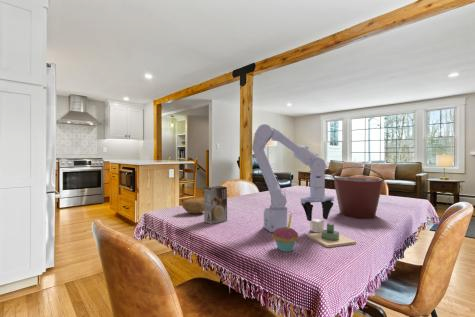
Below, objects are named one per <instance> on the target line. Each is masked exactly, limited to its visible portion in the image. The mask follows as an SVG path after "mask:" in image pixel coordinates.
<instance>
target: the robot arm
mask: <svg viewBox="0 0 475 317" xmlns="http://www.w3.org/2000/svg"><path fill="white" fill-rule="evenodd" d="M253 137H254V138H253V141H252V147H251V148H252V153H253V154H254V158H255V159H256V162H257V164H258V167H259V168H260V172H261V174H262V176H263V178H264V182H265V184H266V186H267V189H268V193H269V195H270V205H269V207H267V208H265V209H264V210H263V226H262V227H263V228H264V229H266V230H267V231H268V232H270V233H273V231H275V230H276V229H277V228H283V227H288V206H287V202H288V201H287V196H286V193H285V191H283V190H282V189H281V186H280V184H279V182H278V179H277V178H276V176H275V175H276V174H275V173H274V170H273V168H272V165H271V163H270V160H269V158H268V156H267V155H268V154H266V151H265V148H266V145H267V144H268V142H270V140H271V141H274V142H278V143H280V144H281V145H282V146H284V147H286V148H288V149H289V150H290V151H292V152H293V156H294V157H295V158H296V159H297V160H299V161H300V162H301V163H303V164H304V165H305V166H308V167H309V168H310V175H309V196H306V197H301V198H300V204H301V206H302V209H303V210H304V212H305V216H306V220H307V221H309V222H311V220H312V219H313V218H312V217H313V216H312V215H313V209H314V205H313V204H312V203H321V206H322V207H321V208H322V220H326V221H327V220H328V219H329V215H330V212H331V210H332V208H333V206H334V202H335V199H334V198H335V197H334V196H332V195H326V194H325V191H326V189H325V185H326V184H325V183H326V181H325V180H326V178H325V177H326V176H325V170H326V168H327V163H326V162H325V160H324V159H323V158H321V157H319V154H318V153H314V152H313V151H311V150H310V149H309V147H308V146H307V145H298V144H296V143H295V142H294V141H292V140H291V139H290V138H288V137H287V136H286V135H285V134H284V133H282V132H281V131H279V130H277V129H276V128H274V127H271V126H270V125H269V124H265V123H263V124H261V125H259V126H258V127H257V128H256V130H255V132H254V136H253Z"/></svg>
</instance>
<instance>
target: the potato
mask: <svg viewBox="0 0 475 317" xmlns="http://www.w3.org/2000/svg"><path fill="white" fill-rule="evenodd" d="M181 206H182V208H183V210H184V211H186V212H187V213H188V214H193V215H194V214H195V215H196V214H200V213H204V197H195V198H193V197H192V198H187V199H186V200H184V201H183V202H182V204H181Z"/></svg>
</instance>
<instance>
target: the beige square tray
mask: <svg viewBox="0 0 475 317" xmlns="http://www.w3.org/2000/svg"><path fill="white" fill-rule="evenodd" d="M306 237H307V238H309V239H311V240H312V241H314V242H316V243H318V244H320V245H321V246H323V247H324V248H326V249H327V248H334V247H335V248H336V247H341V246H342V247H343V246H351V245H356V244H357V242H356V240H353V239H351V238H349V237H346V236H344V235H342V234H340V232H338V231H337V230H335V224H334V223H331V222H330V223H326V229H324V230H323V231H322V232H313V233H307V234H306Z"/></svg>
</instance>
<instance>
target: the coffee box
mask: <svg viewBox="0 0 475 317" xmlns="http://www.w3.org/2000/svg"><path fill="white" fill-rule="evenodd" d="M203 198H204V211H203V215H204V216H203V217H204V218H203V221H204V222H205V223H208V224H210V225H213V224H214V225H215V224H219V223H222V222H227V221H228V187H227V186H222V185H214V186H206V187H203Z"/></svg>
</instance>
